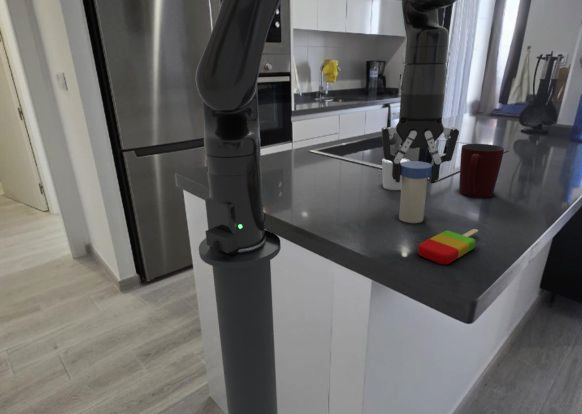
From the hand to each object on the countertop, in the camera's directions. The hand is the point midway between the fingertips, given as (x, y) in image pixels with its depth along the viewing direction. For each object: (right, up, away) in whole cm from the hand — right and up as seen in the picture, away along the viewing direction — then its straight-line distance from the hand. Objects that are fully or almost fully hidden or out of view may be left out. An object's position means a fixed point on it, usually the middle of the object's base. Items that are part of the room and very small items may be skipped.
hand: (414, 181), depth 74 cm
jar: (0, -7, +3) cm, 8 cm away
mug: (+19, -2, +16) cm, 25 cm away
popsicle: (+4, -12, -9) cm, 16 cm away
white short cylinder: (+1, 0, +23) cm, 23 cm away
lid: (0, +3, -1) cm, 3 cm away
